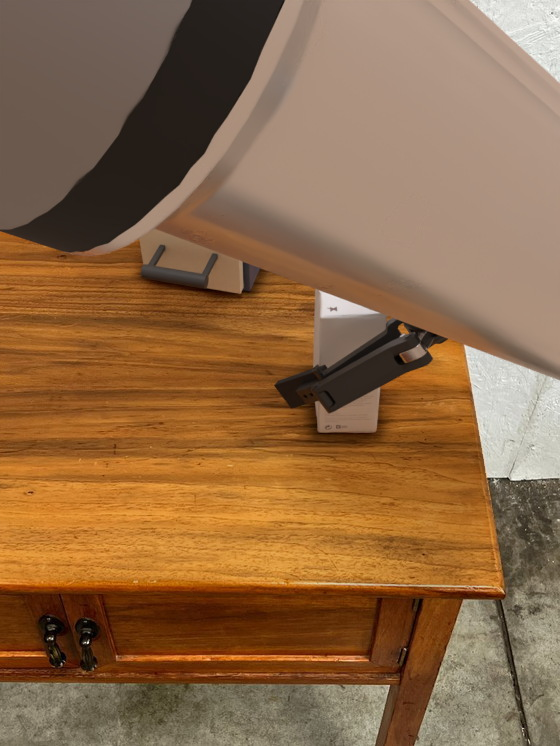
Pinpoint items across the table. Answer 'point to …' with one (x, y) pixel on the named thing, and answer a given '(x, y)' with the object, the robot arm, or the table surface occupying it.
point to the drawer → (188, 263)
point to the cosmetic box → (335, 341)
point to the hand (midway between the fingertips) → (323, 350)
